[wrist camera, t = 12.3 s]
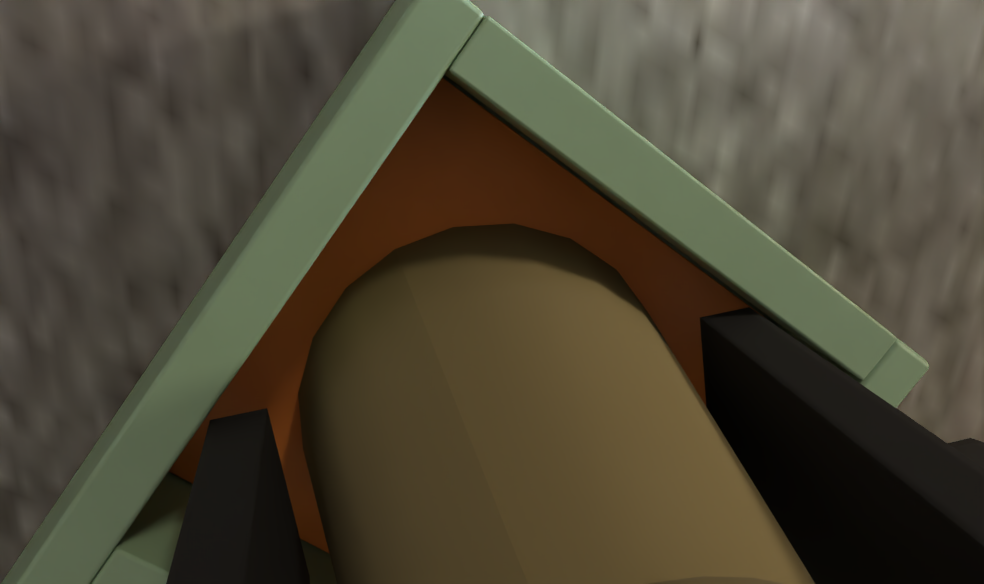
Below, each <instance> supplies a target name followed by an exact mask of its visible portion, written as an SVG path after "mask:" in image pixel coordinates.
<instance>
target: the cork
mask: <svg viewBox="0 0 984 584" xmlns="http://www.w3.org/2000/svg"><path fill="white" fill-rule="evenodd" d="M298 399H299V410H300V421H301V433H302V444H303V451H304V455H305V459H306V463H307V466H308V470H309V474H310V478H311V482H312V486H313V490H314V494H315V498H316V502H317V506H318V510H319V514H320V518H321V522H322V526H323V530H324V534H325V538H326V541H327V545H328V549H329V553H330V557H331V561H332V565H333V569H334V573H335V577H336V581H337V584H815V582H814V581H813V579H812V577H811V576H810V574H809V573H808V571H807V569H806V568H805V566H804V564H803V563H802V561H801V560H800V558H799V556H798V555H797V553H796V552H795V550H794V548H793V547H792V545H791V543H790V542H789V540H788V539H787V537H786V535H785V534H784V532H783V530H782V529H781V527H780V526H779V524H778V522H777V521H776V519H775V517H774V516H773V514H772V513H771V511H770V509H769V508H768V506H767V504H766V503H765V501H764V500H763V498H762V496H761V495H760V493H759V491H758V490H757V488H756V487H755V485H754V483H753V482H752V480H751V478H750V477H749V475H748V474H747V472H746V470H745V469H744V467H743V466H742V464H741V462H740V461H739V459H738V457H737V456H736V454H735V453H734V451H733V449H732V448H731V446H730V444H729V443H728V441H727V440H726V438H725V436H724V435H723V433H722V431H721V430H720V428H719V427H718V425H717V423H716V422H715V420H714V418H713V417H712V415H711V414H710V412H709V410H708V409H707V407H706V405H705V404H704V402H703V401H702V399H701V397H700V396H699V394H698V393H697V391H696V389H695V388H694V386H693V384H692V383H691V381H690V380H689V378H688V376H687V375H686V373H685V371H684V370H683V368H682V367H681V365H680V363H679V362H678V360H677V358H676V357H675V355H674V354H673V352H672V350H671V349H670V347H669V345H668V344H667V342H666V341H665V339H664V337H663V336H662V334H661V332H660V331H659V329H658V328H657V326H656V324H655V323H654V321H653V319H652V318H651V316H650V315H649V313H648V312H647V310H646V309H645V307H644V306H643V305H642V303H641V302H640V301H639V299H638V298H637V297H636V295H635V294H634V292H633V291H632V290H631V288H630V287H629V286H628V284H627V283H626V282H625V280H624V279H623V278H622V276H621V275H620V273H619V272H618V271H617V269H615V268H614V267H612V266H611V265H609V264H608V263H606V262H605V261H603V260H602V259H600V258H599V257H597V256H596V255H594V254H593V253H591V252H590V251H588V250H587V249H585V248H584V247H582V246H581V245H579V244H578V243H576V242H575V241H573V240H572V239H571V238H567V237H563V236H559V235H556V234H552V233H548V232H544V231H540V230H537V229H533V228H529V227H525V226H522V225H518V224H496V225H479V226H462V227H452V228H449V229H447V230H444V231H441V232H439V233H436V234H433V235H431V236H428V237H426V238H423V239H420V240H418V241H415V242H412V243H410V244H407V245H405V246H402V247H399V248H397V249H394V250H393V251H392V252H391V253H389V254H388V255H387V256H386V257H384V258H383V259H382V260H381V261H379V262H378V263H377V264H375V265H374V266H373V267H372V268H370V269H369V270H368V271H367V272H365V273H364V274H363V275H362V276H360V277H359V278H358V279H357V280H355V281H354V282H353V283H352V284H350V285H349V286H348V287H346V289H345V290H344V292H343V293H342V295H341V296H340V298H339V299H338V301H337V302H336V304H335V305H334V307H333V308H332V310H331V311H330V313H329V314H328V316H327V317H326V319H325V320H324V322H323V323H322V325H321V326H320V328H319V329H318V331H317V332H316V334H315V335H314V337H313V339H312V342H311V346H310V350H309V354H308V358H307V361H306V365H305V369H304V373H303V377H302V380H301V384H300V388H299V392H298Z"/></svg>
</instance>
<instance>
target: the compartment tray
mask: <svg viewBox="0 0 984 584" xmlns="http://www.w3.org/2000/svg"><path fill="white" fill-rule="evenodd" d="M496 224H518V225H522V226H525V227H529V228H533V229H537V230H540V231H544V232H548V233H552V234H556V235H559V236H563V237H567V238H571V239H572V240H573V241H575V242H576V243H578V244H579V245H581V246H582V247H584V248H585V249H587V250H588V251H590V252H591V253H593V254H594V255H596V256H597V257H599V258H600V259H602V260H603V261H605V262H606V263H608V264H609V265H611V266H612V267H614V268H615V269H617V271H618V272H619V273H620V275H621V276H622V278H623V279H624V280H625V282H626V283H627V284H628V286H629V287H630V288H631V290H632V291H633V292H634V294H635V295H636V297H637V298H638V299H639V301H640V302H641V303H642V305H643V306H644V307H645V309H646V310H647V312H648V313H649V315H650V316H651V318H652V319H653V321H654V323H655V324H656V326H657V328H658V329H659V331H660V332H661V334H662V336H663V337H664V339H665V341H666V342H667V344H668V345H669V347H670V349H671V350H672V352H673V354H674V355H675V357H676V358H677V360H678V362H679V363H680V365H681V367H682V368H683V370H684V371H685V373H686V375H687V376H688V378H689V380H690V381H691V383H692V384H693V386H694V388H695V389H696V391H697V393H698V394H699V396H700V397H701V399H702V401H703V402H704V404H705V405H706V395H705V382H704V368H703V355H702V341H701V328H700V317H704V316H709V315H714V314H719V313H724V312H728V311H733V310H738V309H743V308H747V307H750V308H751V309H753V310H754V311H756V312H757V313H759V314H760V315H761V316H763V317H764V318H766V319H767V320H769V321H770V322H772V323H773V324H774V325H776V326H777V327H779V328H780V329H782V330H783V331H785V332H786V333H788V334H789V335H790V336H792V337H793V338H795V339H796V340H798V341H799V342H801V343H802V344H804V345H805V346H806V347H808V348H809V349H811V350H812V351H814V352H815V353H817V354H818V355H819V356H821V357H822V358H824V359H825V360H827V361H828V362H830V363H831V364H833V365H834V366H835V367H837V368H838V369H840V370H841V371H843V372H844V373H846V374H847V375H849V376H850V377H851V378H853V379H854V380H856V381H857V382H859V383H860V384H862V385H863V386H864V387H866V388H867V389H869V390H870V391H872V392H873V393H875V394H876V395H878V396H879V397H880V398H882V399H883V400H885V401H886V402H888V403H889V404H891V405H892V406H894V407H895V408H897V406H898V405H899V404H900V403H901V402H902V400H903V399H904V398H905V397H906V396H907V394H908V393H909V392H910V391H911V390H912V388H913V387H914V386H915V385H916V384H917V382H918V381H919V380H920V379H921V378H922V376H923V375H924V374H925V373H926V372H927V370H928V368H929V365H928V363H927V361H926V360H925V359H924V358H922V357H921V356H920V355H918V354H917V353H916V352H915V351H913V350H912V349H911V348H910V347H908V346H907V345H906V344H905V343H903V342H902V341H901V340H899V339H898V338H896V336H895V335H894V334H892V333H891V332H890V331H889V330H887V329H886V328H885V327H883V326H882V325H881V324H880V323H878V322H877V321H876V320H875V319H873V318H872V317H871V316H869V315H868V314H867V313H866V312H864V311H863V310H862V309H861V308H859V307H858V306H857V305H856V304H854V303H853V302H852V301H850V300H849V299H848V298H847V297H845V296H844V295H843V294H842V293H840V292H839V291H838V290H836V289H835V288H834V287H833V286H831V285H830V284H829V283H828V282H826V281H825V280H824V279H822V278H821V277H820V276H819V275H817V274H816V273H815V272H814V271H812V270H811V269H810V268H809V267H807V266H806V265H805V264H803V263H802V262H801V261H800V260H798V259H797V258H796V257H795V256H793V255H792V254H791V253H789V252H788V251H787V250H786V249H784V248H783V247H782V246H781V245H779V244H778V243H777V242H775V241H774V240H773V239H772V238H770V237H769V236H768V235H767V234H765V233H764V232H763V231H762V230H760V229H759V228H758V227H756V226H755V225H754V224H753V223H751V222H750V221H749V220H748V219H746V218H745V217H744V216H742V215H741V214H740V213H739V212H737V211H736V210H735V209H734V208H732V207H731V206H730V205H729V204H727V203H726V202H725V201H723V200H722V199H721V198H720V197H718V196H717V195H716V194H715V193H713V192H712V191H711V190H709V189H708V188H707V187H706V186H704V185H703V184H702V183H701V182H699V181H698V180H697V179H695V178H694V177H693V176H692V175H690V174H689V173H688V172H687V171H685V170H684V169H683V168H682V167H680V166H679V165H678V164H676V163H675V162H674V161H673V160H671V159H670V158H669V157H668V156H666V155H665V154H664V153H662V152H661V151H660V150H659V149H657V148H656V147H655V146H654V145H652V144H651V143H650V142H648V141H647V140H646V139H645V138H643V137H642V136H641V135H640V134H638V133H637V132H636V131H635V130H633V129H632V128H631V127H629V126H628V125H627V124H626V123H624V122H623V121H622V120H621V119H619V118H618V117H617V116H615V115H614V114H613V113H612V112H610V111H609V110H608V109H607V108H605V107H604V106H603V105H601V104H600V103H599V102H598V101H596V100H595V99H594V98H593V97H591V96H590V95H589V94H588V93H586V92H585V91H584V90H582V89H581V88H580V87H579V86H577V85H576V84H575V83H574V82H572V81H571V80H570V79H568V78H567V77H566V76H565V75H563V74H562V73H561V72H560V71H558V70H557V69H556V68H554V67H553V66H552V65H551V64H549V63H548V62H547V61H546V60H544V59H543V58H542V57H541V56H539V55H538V54H537V53H535V52H534V51H533V50H532V49H530V48H529V47H528V46H527V45H525V44H524V43H523V42H521V41H520V40H519V39H518V38H516V37H515V36H514V35H513V34H511V33H510V32H509V31H508V30H506V29H505V28H504V27H502V26H501V25H500V24H499V23H497V22H496V21H495V20H494V19H492V18H491V17H489V16H483V13H482V11H481V10H480V9H479V8H478V7H477V6H475V5H474V4H473V3H471V2H470V1H469V0H396V1H395V2H394V4H393V5H392V7H391V8H390V9H389V11H388V12H387V14H386V15H385V17H384V18H383V20H382V21H381V23H380V24H379V26H378V27H377V29H376V30H375V32H374V33H373V35H372V36H371V38H370V39H369V41H368V42H367V43H366V45H365V46H364V48H363V49H362V51H361V52H360V54H359V55H358V57H357V58H356V60H355V61H354V63H353V64H352V66H351V67H350V69H349V70H348V72H347V73H346V74H345V76H344V77H343V79H342V80H341V82H340V83H339V85H338V86H337V88H336V89H335V91H334V92H333V94H332V95H331V97H330V98H329V100H328V101H327V103H326V104H325V106H324V107H323V108H322V110H321V111H320V113H319V114H318V116H317V117H316V119H315V120H314V122H313V123H312V125H311V126H310V128H309V129H308V131H307V132H306V134H305V135H304V137H303V138H302V140H301V141H300V142H299V144H298V145H297V147H296V148H295V150H294V151H293V153H292V154H291V156H290V157H289V159H288V160H287V162H286V163H285V165H284V166H283V168H282V169H281V171H280V172H279V174H278V175H277V176H276V178H275V179H274V181H273V182H272V184H271V185H270V187H269V188H268V190H267V191H266V193H265V194H264V196H263V197H262V199H261V200H260V202H259V203H258V205H257V206H256V207H255V209H254V210H253V212H252V213H251V215H250V216H249V218H248V219H247V221H246V222H245V224H244V225H243V227H242V228H241V230H240V231H239V233H238V234H237V236H236V237H235V239H234V240H233V241H232V243H231V244H230V246H229V247H228V249H227V250H226V252H225V253H224V255H223V256H222V258H221V259H220V261H219V262H218V264H217V265H216V267H215V268H214V270H213V271H212V273H211V274H210V275H209V277H208V278H207V280H206V281H205V283H204V284H203V286H202V287H201V289H200V290H199V292H198V293H197V295H196V296H195V298H194V299H193V301H192V302H191V304H190V305H189V307H188V308H187V309H186V311H185V312H184V314H183V315H182V317H181V318H180V320H179V321H178V323H177V324H176V326H175V327H174V329H173V330H172V332H171V333H170V335H169V336H168V338H167V339H166V341H165V342H164V343H163V345H162V346H161V348H160V349H159V351H158V352H157V354H156V355H155V357H154V358H153V360H152V361H151V363H150V364H149V366H148V367H147V369H146V370H145V372H144V373H143V374H142V376H141V377H140V379H139V380H138V382H137V383H136V385H135V386H134V388H133V389H132V391H131V392H130V394H129V395H128V397H127V398H126V400H125V401H124V403H123V404H122V406H121V407H120V408H119V410H118V411H117V413H116V414H115V416H114V417H113V419H112V420H111V422H110V423H109V425H108V426H107V428H106V429H105V431H104V432H103V434H102V435H101V437H100V438H99V440H98V441H97V442H96V444H95V445H94V447H93V448H92V450H91V451H90V453H89V454H88V456H87V457H86V459H85V460H84V462H83V463H82V465H81V466H80V468H79V469H78V471H77V472H76V474H75V475H74V476H73V478H72V479H71V481H70V482H69V484H68V485H67V487H66V488H65V490H64V491H63V493H62V494H61V496H60V497H59V499H58V500H57V502H56V503H55V505H54V506H53V507H52V509H51V510H50V512H49V513H48V515H47V516H46V518H45V519H44V521H43V522H42V524H41V525H40V527H39V528H38V530H37V531H36V533H35V534H34V536H33V537H32V539H31V540H30V541H29V543H28V544H27V546H26V547H25V549H24V550H23V552H22V553H21V555H20V556H19V558H18V559H17V561H16V562H15V564H14V565H13V567H12V568H11V570H10V571H9V573H8V574H7V575H6V577H5V578H4V580H3V581H2V583H1V584H166V582H167V579H168V575H169V571H170V567H171V564H172V560H173V556H174V552H175V549H176V545H177V541H178V538H179V534H180V530H181V526H182V523H183V519H184V515H185V511H186V508H187V504H188V500H189V497H190V493H191V489H192V485H193V482H194V478H195V474H196V470H197V467H198V463H199V459H200V456H201V452H202V448H203V444H204V441H205V437H206V433H207V429H208V426H209V422H210V420H213V419H218V418H222V417H227V416H232V415H237V414H241V413H246V412H251V411H256V410H261V409H265V408H267V410H268V413H269V417H270V421H271V425H272V429H273V433H274V437H275V441H276V445H277V449H278V453H279V457H280V461H281V465H282V469H283V473H284V477H285V481H286V485H287V489H288V493H289V497H290V501H291V504H292V508H293V512H294V516H295V520H296V524H297V528H298V532H299V536H300V540H301V544H302V548H303V552H304V556H305V560H306V564H307V568H308V572H309V576H310V584H337V581H336V577H335V573H334V569H333V565H332V561H331V557H330V553H329V549H328V545H327V541H326V538H325V534H324V530H323V526H322V522H321V518H320V514H319V510H318V506H317V502H316V498H315V494H314V490H313V486H312V482H311V478H310V474H309V470H308V466H307V463H306V459H305V455H304V451H303V444H302V433H301V421H300V410H299V399H298V392H299V388H300V384H301V380H302V377H303V373H304V369H305V365H306V361H307V358H308V354H309V350H310V346H311V342H312V339H313V337H314V335H315V334H316V332H317V331H318V329H319V328H320V326H321V325H322V323H323V322H324V320H325V319H326V317H327V316H328V314H329V313H330V311H331V310H332V308H333V307H334V305H335V304H336V302H337V301H338V299H339V298H340V296H341V295H342V293H343V292H344V290H345V289H346V287H348V286H349V285H350V284H352V283H353V282H354V281H355V280H357V279H358V278H359V277H360V276H362V275H363V274H364V273H365V272H367V271H368V270H369V269H370V268H372V267H373V266H374V265H375V264H377V263H378V262H379V261H381V260H382V259H383V258H384V257H386V256H387V255H388V254H389V253H391V252H392V251H393V250H394V249H397V248H399V247H402V246H405V245H407V244H410V243H412V242H415V241H418V240H420V239H423V238H426V237H428V236H431V235H433V234H436V233H439V232H441V231H444V230H447V229H449V228H452V227H462V226H479V225H496Z"/></svg>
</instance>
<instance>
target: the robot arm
mask: <svg viewBox="0 0 984 584" xmlns="http://www.w3.org/2000/svg"><path fill="white" fill-rule="evenodd" d="M700 328H701V341H702V355H703V368H704V382H705V395H706V407H707V409H708V410H709V412H710V414H711V415H712V417H713V418H714V420H715V422H716V423H717V425H718V427H719V428H720V430H721V431H722V433H723V435H724V436H725V438H726V440H727V441H728V443H729V444H730V446H731V448H732V449H733V451H734V453H735V454H736V456H737V457H738V459H739V461H740V462H741V464H742V466H743V467H744V469H745V470H746V472H747V474H748V475H749V477H750V478H751V480H752V482H753V483H754V485H755V487H756V488H757V490H758V491H759V493H760V495H761V496H762V498H763V500H764V501H765V503H766V504H767V506H768V508H769V509H770V511H771V513H772V514H773V516H774V517H775V519H776V521H777V522H778V524H779V526H780V527H781V529H782V530H783V532H784V534H785V535H786V537H787V539H788V540H789V542H790V543H791V545H792V547H793V548H794V550H795V552H796V553H797V555H798V556H799V558H800V560H801V561H802V563H803V564H804V566H805V568H806V569H807V571H808V573H809V574H810V576H811V577H812V579H813V581H814V582H815V584H984V442H981V441H978V440H975V439H972V438H969V439H964V440H960V441H956V442H952V443H946V442H944V441H943V440H941V439H940V438H939V437H937V436H936V435H934V434H933V433H931V432H930V431H928V430H927V429H925V428H924V427H923V426H921V425H920V424H918V423H917V422H915V421H914V420H912V419H911V418H909V417H908V416H907V415H905V414H904V413H902V412H901V411H899V410H898V409H896V408H895V407H894V406H892V405H891V404H889V403H888V402H886V401H885V400H883V399H882V398H880V397H879V396H878V395H876V394H875V393H873V392H872V391H870V390H869V389H867V388H866V387H864V386H863V385H862V384H860V383H859V382H857V381H856V380H854V379H853V378H851V377H850V376H849V375H847V374H846V373H844V372H843V371H841V370H840V369H838V368H837V367H835V366H834V365H833V364H831V363H830V362H828V361H827V360H825V359H824V358H822V357H821V356H819V355H818V354H817V353H815V352H814V351H812V350H811V349H809V348H808V347H806V346H805V345H804V344H802V343H801V342H799V341H798V340H796V339H795V338H793V337H792V336H790V335H789V334H788V333H786V332H785V331H783V330H782V329H780V328H779V327H777V326H776V325H774V324H773V323H772V322H770V321H769V320H767V319H766V318H764V317H763V316H761V315H760V314H759V313H757V312H756V311H754V310H753V309H751V308H750V307H747V308H743V309H738V310H733V311H728V312H724V313H719V314H714V315H709V316H704V317H700ZM166 584H310V576H309V572H308V568H307V564H306V560H305V556H304V552H303V548H302V544H301V540H300V536H299V532H298V528H297V524H296V520H295V516H294V512H293V508H292V504H291V501H290V497H289V493H288V489H287V485H286V481H285V477H284V473H283V469H282V465H281V461H280V457H279V453H278V449H277V445H276V441H275V437H274V433H273V429H272V425H271V421H270V417H269V413H268V410H267V408H265V409H261V410H256V411H251V412H246V413H241V414H237V415H232V416H227V417H222V418H218V419H213V420H210V422H209V426H208V429H207V433H206V437H205V441H204V444H203V448H202V452H201V456H200V459H199V463H198V467H197V470H196V474H195V478H194V482H193V485H192V489H191V493H190V497H189V500H188V504H187V508H186V511H185V515H184V519H183V523H182V526H181V530H180V534H179V538H178V541H177V545H176V549H175V552H174V556H173V560H172V564H171V567H170V571H169V575H168V579H167V582H166Z"/></svg>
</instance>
